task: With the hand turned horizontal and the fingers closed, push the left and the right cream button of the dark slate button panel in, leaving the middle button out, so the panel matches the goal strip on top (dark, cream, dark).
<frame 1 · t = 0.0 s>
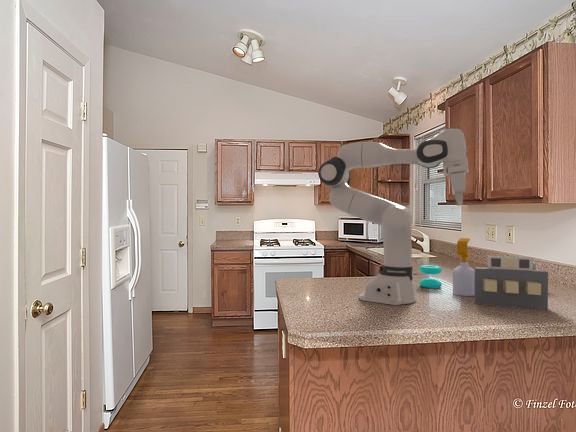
hand: (459, 205, 141), 39 cm above the table, tool pointing down, fingers open, 8 cm apart
button left: (489, 284, 142), point 8 cm above the table, slide at 0.0 cm
panel: (509, 305, 141), on the table
button right: (532, 287, 136), point 8 cm above the table, slide at 0.0 cm
soap bottle: (464, 294, 160), on the table
donuts: (430, 287, 177), on the table
button mid: (510, 285, 139), point 8 cm above the table, slide at 0.0 cm
skincare box: (528, 288, 173), on the table
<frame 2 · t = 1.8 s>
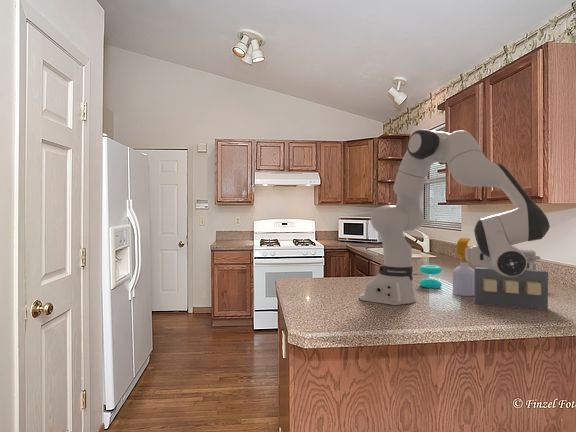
hand: (495, 252, 127), 22 cm above the table, tool horizontal, fingers open, 5 cm apart
nothing on the table moved.
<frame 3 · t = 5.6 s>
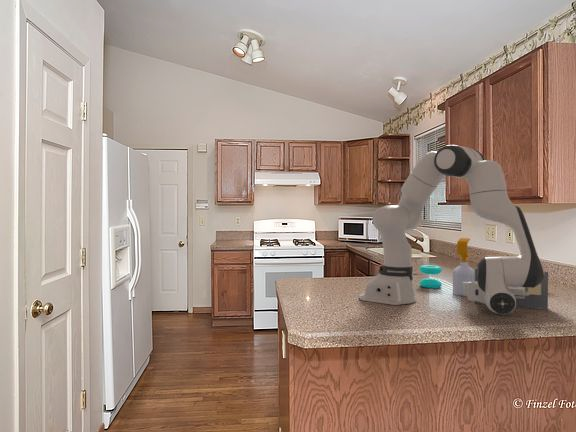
hand: (490, 285, 140), 8 cm above the table, tool horizontal, fingers closed, pressing on button left
button left: (489, 283, 143), point 8 cm above the table, slide at 1.4 cm, touching gripper
everything else where it was.
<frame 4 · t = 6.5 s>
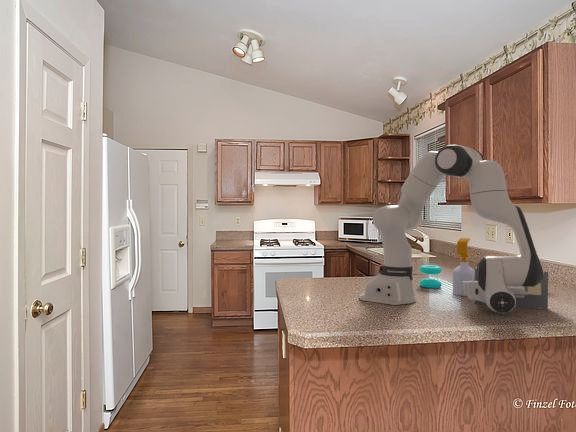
hand: (490, 285, 141), 8 cm above the table, tool horizontal, fingers closed
button left: (488, 283, 144), point 8 cm above the table, slide at 2.8 cm
everything else where it was.
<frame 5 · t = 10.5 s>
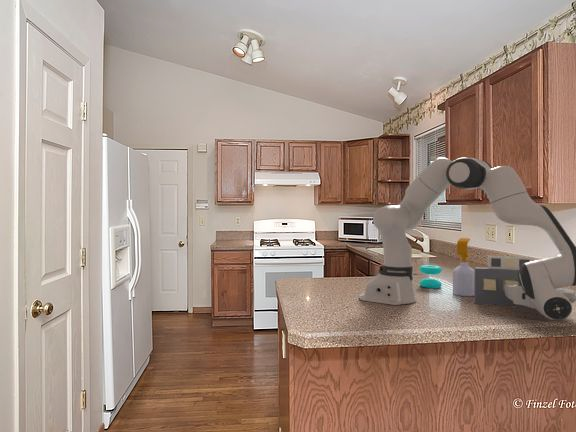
hand: (533, 288, 134), 8 cm above the table, tool horizontal, fingers closed, pressing on button right
button right: (531, 286, 137), point 8 cm above the table, slide at 0.9 cm, touching gripper
everything else where it was.
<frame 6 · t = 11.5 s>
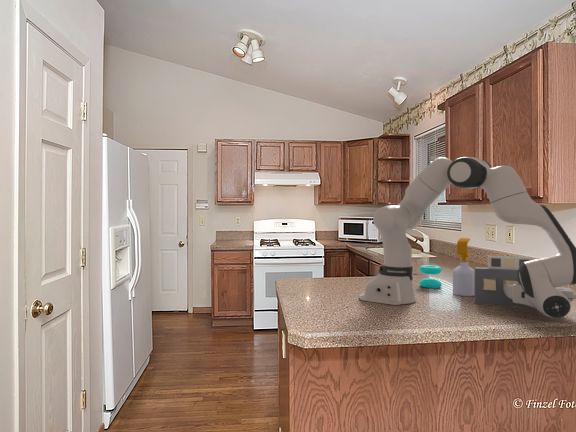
hand: (532, 287, 135), 8 cm above the table, tool horizontal, fingers closed
button right: (530, 286, 139), point 8 cm above the table, slide at 2.7 cm
everything else where it was.
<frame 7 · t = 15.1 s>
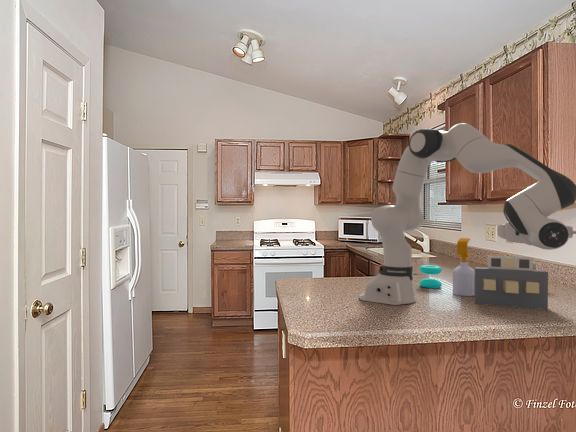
hand: (528, 230, 124), 30 cm above the table, tool horizontal, fingers closed
nothing on the table moved.
at the end: button left slide at 2.8 cm; button right slide at 2.7 cm; button mid slide at 0.0 cm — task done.
